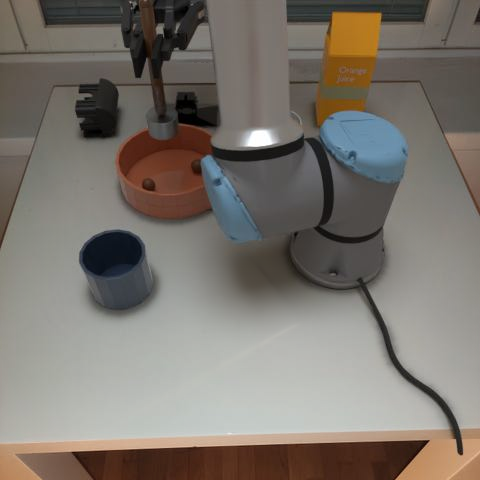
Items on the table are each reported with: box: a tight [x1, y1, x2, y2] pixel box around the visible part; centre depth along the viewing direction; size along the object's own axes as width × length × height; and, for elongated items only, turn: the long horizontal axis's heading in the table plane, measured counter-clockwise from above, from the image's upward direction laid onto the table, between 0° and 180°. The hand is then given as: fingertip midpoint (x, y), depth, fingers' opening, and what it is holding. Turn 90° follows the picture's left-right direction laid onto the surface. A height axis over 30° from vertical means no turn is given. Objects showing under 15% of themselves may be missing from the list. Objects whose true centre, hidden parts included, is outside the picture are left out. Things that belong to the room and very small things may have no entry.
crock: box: [78, 228, 154, 311], centre depth 71 cm, size 9×9×8 cm
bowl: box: [114, 124, 214, 220], centre depth 85 cm, size 19×19×6 cm
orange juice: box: [314, 11, 383, 127], centre depth 91 cm, size 8×9×20 cm
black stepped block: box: [166, 91, 219, 128], centre depth 97 cm, size 12×7×5 cm, turn 90°
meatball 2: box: [191, 159, 202, 173], centre depth 88 cm, size 2×2×2 cm
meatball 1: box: [142, 178, 155, 191], centre depth 85 cm, size 2×2×2 cm
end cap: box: [74, 77, 120, 138], centre depth 95 cm, size 10×7×7 cm
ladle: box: [139, 0, 179, 140], centre depth 70 cm, size 5×5×20 cm
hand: (145, 68), depth 64 cm, fingers closed on ladle, 2 cm apart
